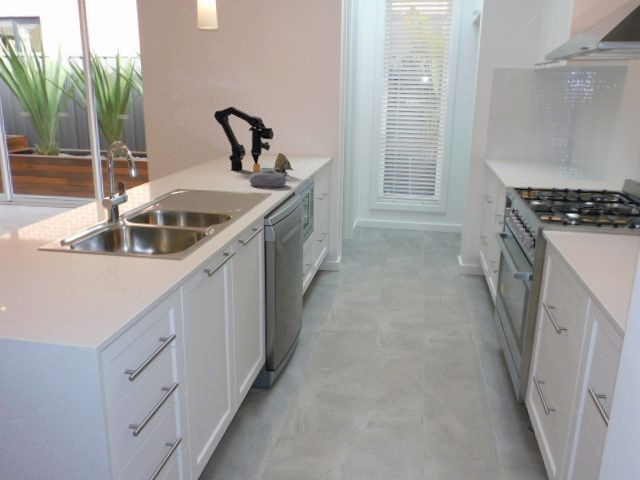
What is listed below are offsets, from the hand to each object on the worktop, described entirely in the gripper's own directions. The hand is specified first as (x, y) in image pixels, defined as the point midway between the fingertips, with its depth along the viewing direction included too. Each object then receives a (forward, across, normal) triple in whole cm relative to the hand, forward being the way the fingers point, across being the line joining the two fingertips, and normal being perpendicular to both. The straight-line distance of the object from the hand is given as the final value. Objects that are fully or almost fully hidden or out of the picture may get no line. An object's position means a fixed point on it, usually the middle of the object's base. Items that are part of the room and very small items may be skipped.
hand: (256, 163), depth 351 cm
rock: (+6, +16, -17) cm, 24 cm away
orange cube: (+5, 0, 0) cm, 5 cm away
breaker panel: (+5, -6, -11) cm, 13 cm away
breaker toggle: (+2, -11, -15) cm, 19 cm away
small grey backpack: (+6, -48, -7) cm, 49 cm away
